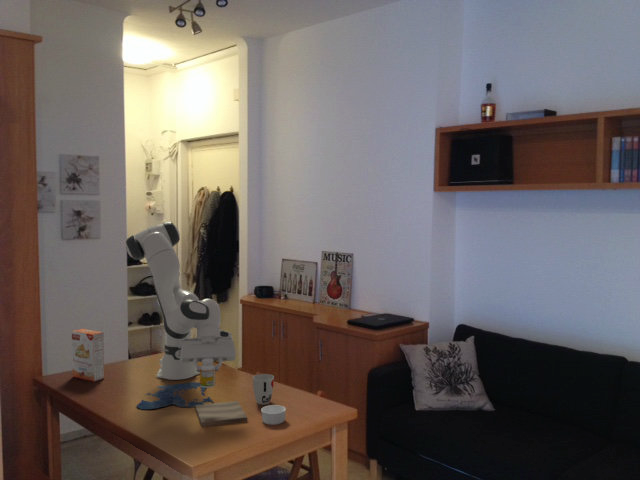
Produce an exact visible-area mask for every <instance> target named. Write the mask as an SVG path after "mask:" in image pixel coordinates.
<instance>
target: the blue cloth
mask: <svg viewBox="0 0 640 480" xmlns="http://www.w3.org/2000/svg"><path fill="white" fill-rule="evenodd" d="M156 388H157V390H158V389H159V390H158V391H157V392H155V391H154V394H153V393H151V392H149V393H147V394H146V396H148V395H149V396H151V397H156V398H158V399H159V400H153V401H148V400H144V399H141V402H139V403H137V405H136V407H137V408H138V409H140V410H153V409H154V410H155V409H160V408H163V407H168V406H170V405H176V406H177V407H180V408H195V405H204V404H205V403H210V404H214V401H213V400H212V399H211V397H209V396H207V397H206V394H205V393H204V392H205V391H206V389H207V388H203V387H201V386H200V382H196V381H195V382H184V383H177V384H176V383H175V384H168V385H167V384H166V385H161V386H156ZM198 388H200V392H201V393H200V394H201V395H202V396H204V397H206V398H202V401H198V399H197V398H196V399H195V398H194V399H193V400H192V401H188V402H187V400H186V399H184V398H183V397H184V395H183V394H186V392H187V391H189V390H192V389H195V390H196V389H198ZM183 390H184V391H183ZM182 391H183V392H182ZM185 391H186V392H185ZM194 392H196V391H194ZM181 394H182V395H181Z"/></svg>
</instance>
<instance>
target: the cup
mask: <svg viewBox="0 0 640 480" xmlns="http://www.w3.org/2000/svg"><path fill="white" fill-rule="evenodd" d="M274 379H275V375H273V374H268V373H260V374H256V375H255V374H254V375H253V376H252V383H253V384H252V385H253V386H252V387H253V393H254V398H255V402H256V404H258V405H270V404H271V403H270V402H271V400H272V396H273V392H274V391H273V390H274V381H275V380H274Z"/></svg>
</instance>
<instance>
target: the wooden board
mask: <svg viewBox="0 0 640 480" xmlns="http://www.w3.org/2000/svg"><path fill="white" fill-rule="evenodd" d="M203 404H204V405H195V407H194V409H195V412H196V415H197V417H198V421H199V423H200V426H201V427H210V426H219V425H227V424H228V425H229V424H236V423H238V424H239V423H247V422H248V415H247V414H246V412H245V411H244V409H243V407H242V405H241V404H240V403H239V401H238V400H235V401H234V400H233V401H224V402H217V403H213V404H212V403H203Z"/></svg>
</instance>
